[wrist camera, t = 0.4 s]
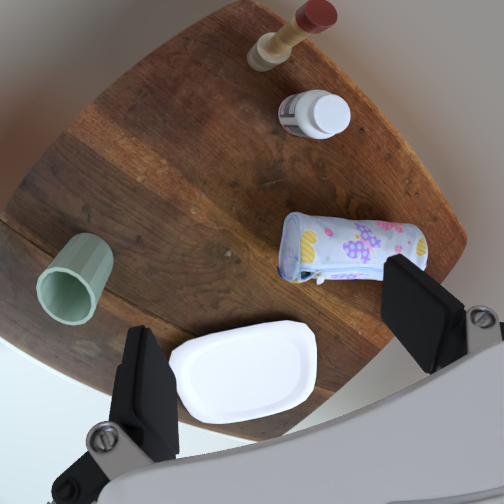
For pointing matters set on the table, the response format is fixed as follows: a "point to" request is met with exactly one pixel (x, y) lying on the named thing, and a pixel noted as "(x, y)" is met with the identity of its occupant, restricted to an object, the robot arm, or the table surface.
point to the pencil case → (344, 247)
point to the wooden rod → (291, 35)
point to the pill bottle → (314, 114)
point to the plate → (246, 371)
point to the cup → (75, 279)
